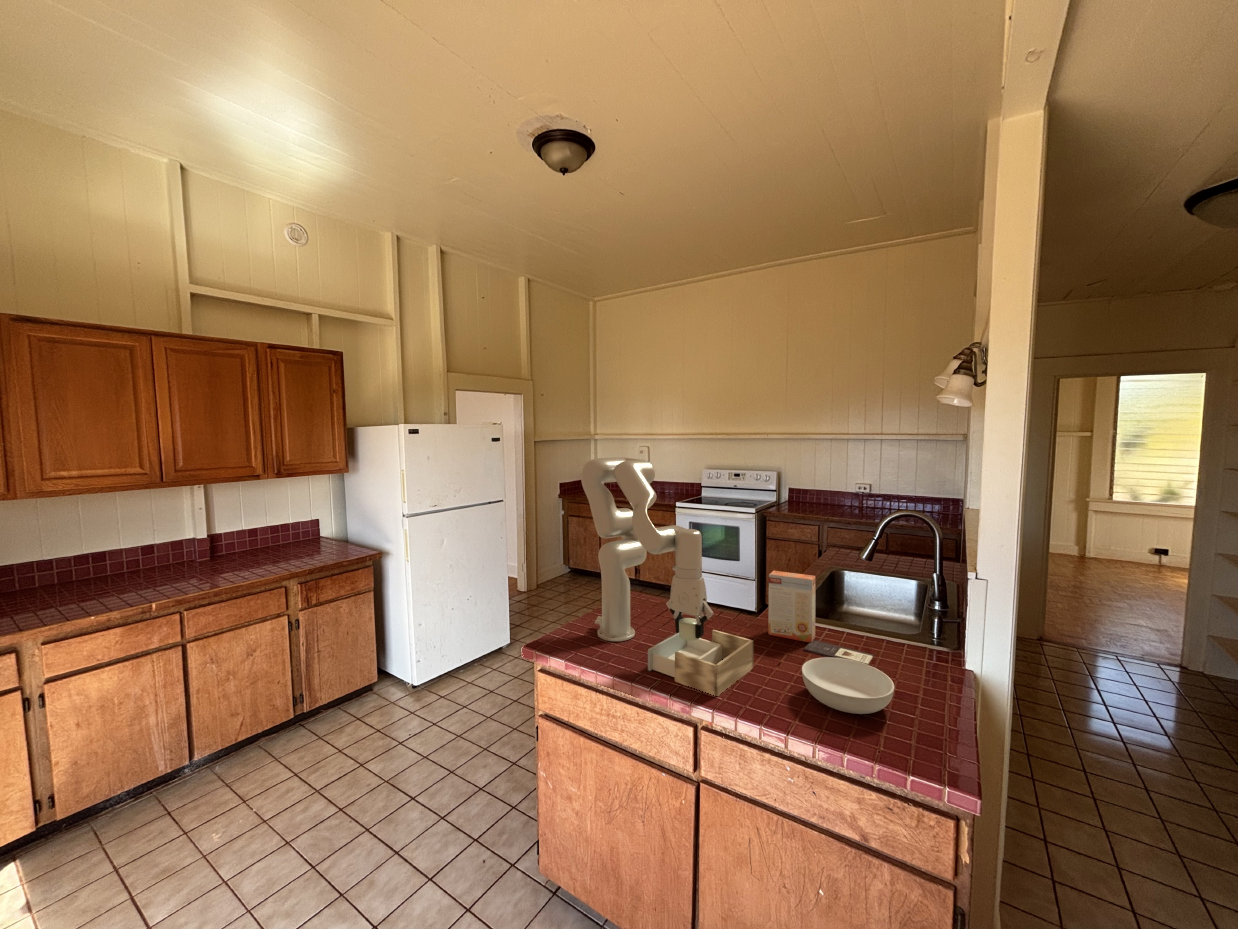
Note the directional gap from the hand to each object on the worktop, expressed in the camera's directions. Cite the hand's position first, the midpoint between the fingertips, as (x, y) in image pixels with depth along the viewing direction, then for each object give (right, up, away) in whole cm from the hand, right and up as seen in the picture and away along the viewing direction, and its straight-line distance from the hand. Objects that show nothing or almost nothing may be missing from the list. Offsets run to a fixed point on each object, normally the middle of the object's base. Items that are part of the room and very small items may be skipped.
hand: (689, 633), depth 143 cm
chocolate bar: (+47, -9, +8) cm, 48 cm away
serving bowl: (+36, -11, -20) cm, 43 cm away
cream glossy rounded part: (0, -1, 0) cm, 1 cm away
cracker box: (+37, -8, +22) cm, 44 cm away
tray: (0, -9, +1) cm, 9 cm away
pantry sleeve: (+6, -10, -4) cm, 12 cm away
